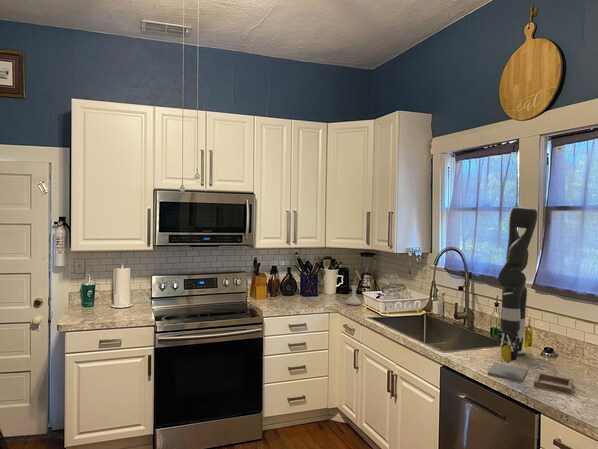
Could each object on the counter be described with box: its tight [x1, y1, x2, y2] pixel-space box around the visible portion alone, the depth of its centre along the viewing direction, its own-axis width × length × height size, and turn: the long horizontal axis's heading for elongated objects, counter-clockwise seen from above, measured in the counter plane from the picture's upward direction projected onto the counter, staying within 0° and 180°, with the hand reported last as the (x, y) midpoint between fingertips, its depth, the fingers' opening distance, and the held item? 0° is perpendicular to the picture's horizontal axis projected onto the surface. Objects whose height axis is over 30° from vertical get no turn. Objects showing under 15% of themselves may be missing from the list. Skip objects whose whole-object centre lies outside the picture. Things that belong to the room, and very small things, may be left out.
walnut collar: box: [533, 372, 574, 395], centre depth 172 cm, size 12×12×2 cm
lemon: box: [500, 344, 513, 364], centre depth 185 cm, size 6×6×8 cm
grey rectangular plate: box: [487, 362, 529, 383], centre depth 185 cm, size 16×13×1 cm
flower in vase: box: [345, 270, 362, 306], centre depth 324 cm, size 13×11×25 cm
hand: (508, 357), depth 185 cm, fingers closed on lemon, 5 cm apart
